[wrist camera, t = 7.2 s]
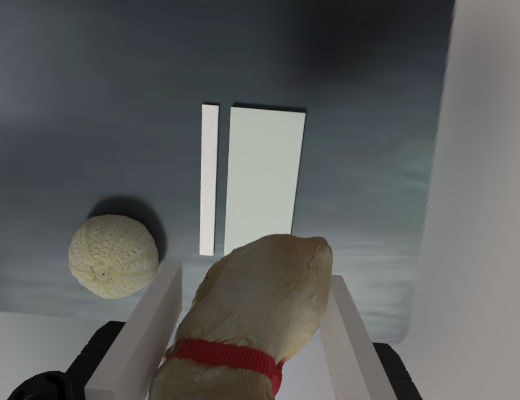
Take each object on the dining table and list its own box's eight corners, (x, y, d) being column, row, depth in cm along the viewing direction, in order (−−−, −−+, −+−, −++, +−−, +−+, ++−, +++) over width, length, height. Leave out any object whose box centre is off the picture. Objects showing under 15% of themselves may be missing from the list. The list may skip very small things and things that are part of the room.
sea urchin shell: (156, 211, 30) (135, 293, 26) (172, 237, 37) (158, 305, 33) (64, 203, 29) (31, 285, 26) (99, 231, 36) (76, 298, 33)
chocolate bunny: (160, 250, 14) (-56, 574, 4) (326, 223, 13) (493, 511, 4) (189, 342, 15) (81, 721, 6) (337, 320, 15) (473, 688, 6)
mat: (231, 106, 28) (231, 107, 27) (304, 113, 28) (305, 113, 27) (224, 255, 33) (224, 257, 32) (286, 260, 33) (286, 262, 33)
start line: (203, 104, 28) (202, 104, 28) (218, 105, 28) (218, 105, 28) (200, 253, 33) (199, 254, 33) (213, 254, 33) (213, 255, 33)
